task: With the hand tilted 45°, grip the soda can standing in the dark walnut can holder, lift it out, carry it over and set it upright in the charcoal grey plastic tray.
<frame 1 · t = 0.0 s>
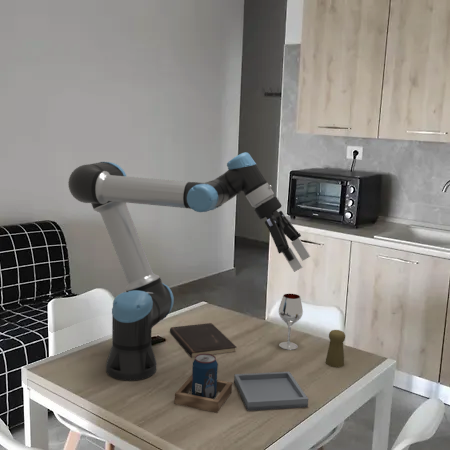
hand: (302, 263, 172), 36 cm above the table, tool tilted 35°, fingers open, 13 cm apart
soda can: (203, 398, 164), resting in can holder
hardcover book: (201, 343, 204), on the table
tray: (269, 394, 168), on the table
can holder: (203, 397, 164), on the table
cork: (334, 363, 191), on the table
wineglass: (288, 346, 203), on the table
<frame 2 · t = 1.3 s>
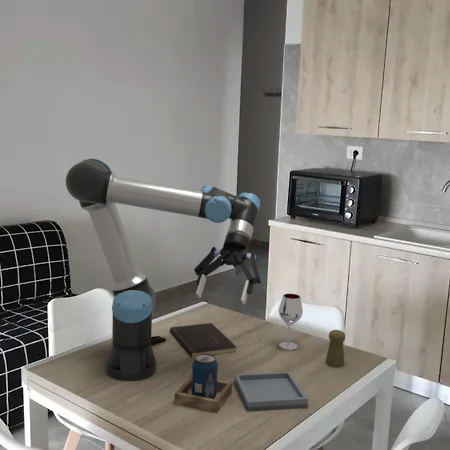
hand: (220, 299, 169), 26 cm above the table, tool tilted 45°, fingers open, 13 cm apart
nothing on the table moved.
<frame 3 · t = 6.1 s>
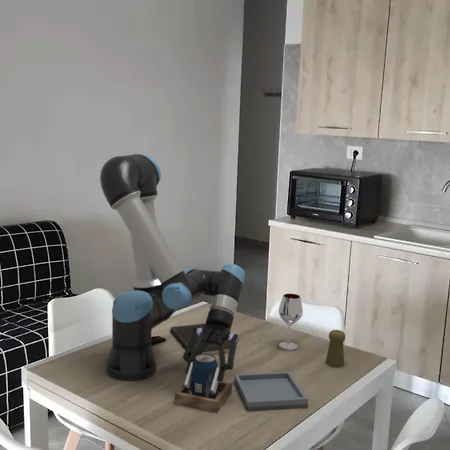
hand: (199, 389, 160), 4 cm above the table, tool tilted 45°, fingers closed on soda can, 7 cm apart
soda can: (203, 398, 164), resting in can holder, touching gripper
everything else where it was.
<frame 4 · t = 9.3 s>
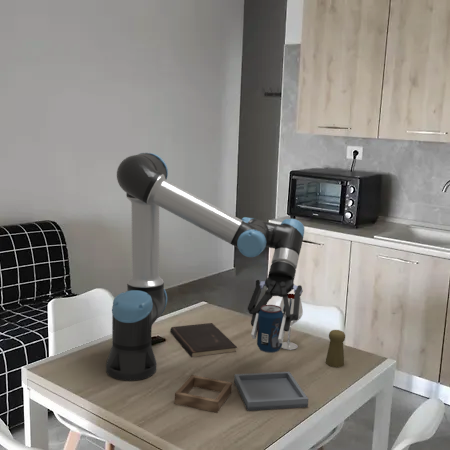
hand: (266, 338, 161), 18 cm above the table, tool tilted 45°, fingers closed on soda can, 7 cm apart
soda can: (269, 349, 165), point 14 cm above the table, touching gripper
everything else where it was.
when the fingers open (7 cm above the table, at t = 12.4 s): soda can drops 1 cm, resting on tray.
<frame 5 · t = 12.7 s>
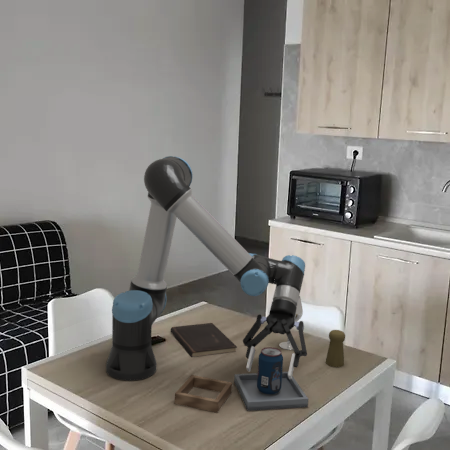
hand: (268, 373, 164), 8 cm above the table, tool tilted 45°, fingers open, 11 cm apart
soda can: (268, 391, 168), point 1 cm above the table, touching tray
everything else where it was.
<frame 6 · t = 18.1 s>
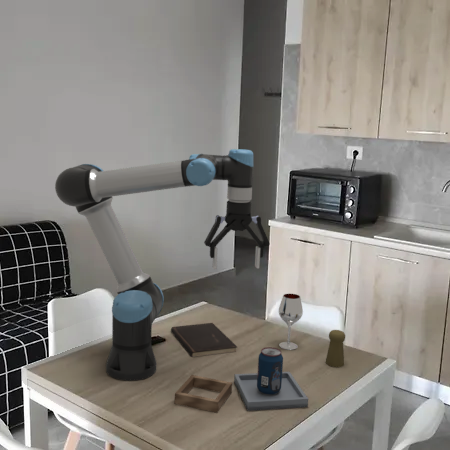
hand: (235, 267, 184), 31 cm above the table, tool pointing down, fingers open, 13 cm apart
nothing on the table moved.
at the end: soda can inside the target area on the tray (0.3 cm from its centre), point 0.8 cm above the tray's base; soda can tilted 0°; the gripper is holding nothing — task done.
